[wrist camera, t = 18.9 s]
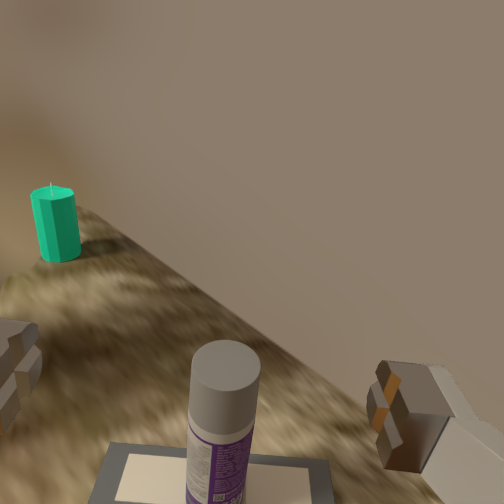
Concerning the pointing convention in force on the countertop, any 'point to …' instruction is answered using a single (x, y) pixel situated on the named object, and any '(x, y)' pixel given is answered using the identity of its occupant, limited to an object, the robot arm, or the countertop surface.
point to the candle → (56, 223)
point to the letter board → (174, 478)
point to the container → (220, 421)
